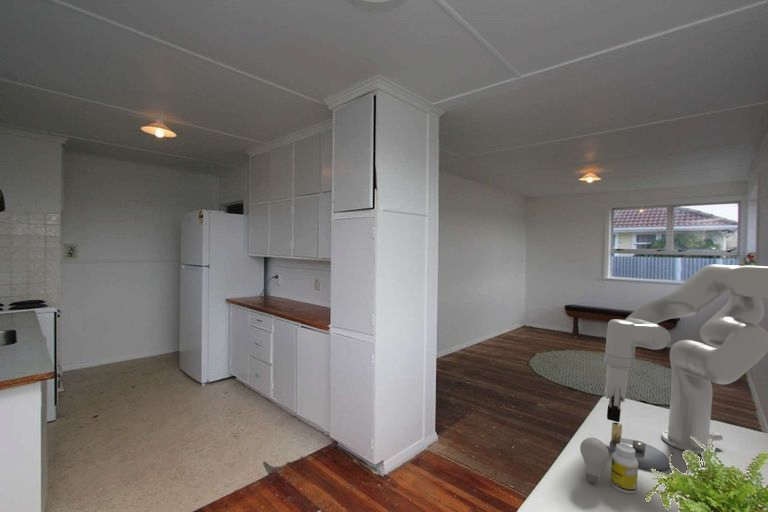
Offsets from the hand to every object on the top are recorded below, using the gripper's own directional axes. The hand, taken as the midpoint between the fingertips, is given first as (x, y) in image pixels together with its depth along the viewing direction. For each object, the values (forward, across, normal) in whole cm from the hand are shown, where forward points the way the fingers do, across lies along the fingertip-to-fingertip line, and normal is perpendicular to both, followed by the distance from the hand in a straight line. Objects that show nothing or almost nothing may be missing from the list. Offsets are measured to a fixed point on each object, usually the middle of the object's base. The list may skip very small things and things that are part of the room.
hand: (613, 419), depth 111 cm
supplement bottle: (+7, +25, +1) cm, 26 cm away
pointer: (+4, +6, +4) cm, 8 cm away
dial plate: (+6, +6, +6) cm, 11 cm away
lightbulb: (+7, +28, -5) cm, 29 cm away
